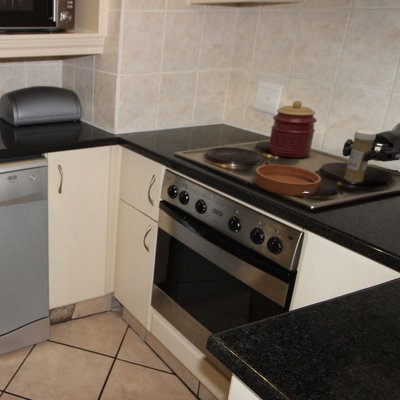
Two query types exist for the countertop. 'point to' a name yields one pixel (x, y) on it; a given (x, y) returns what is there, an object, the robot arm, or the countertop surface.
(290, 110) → the kitchen canister
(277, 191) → the terracotta round dish
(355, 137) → the sprinkles bottle
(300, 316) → the countertop surface
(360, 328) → the countertop surface
